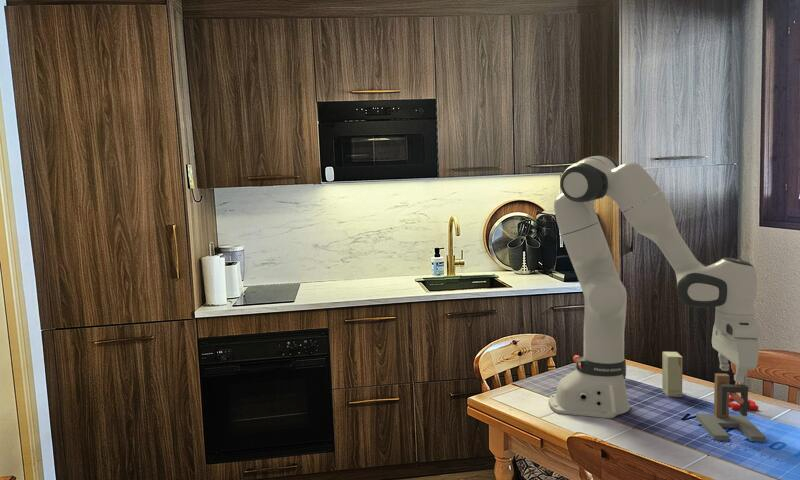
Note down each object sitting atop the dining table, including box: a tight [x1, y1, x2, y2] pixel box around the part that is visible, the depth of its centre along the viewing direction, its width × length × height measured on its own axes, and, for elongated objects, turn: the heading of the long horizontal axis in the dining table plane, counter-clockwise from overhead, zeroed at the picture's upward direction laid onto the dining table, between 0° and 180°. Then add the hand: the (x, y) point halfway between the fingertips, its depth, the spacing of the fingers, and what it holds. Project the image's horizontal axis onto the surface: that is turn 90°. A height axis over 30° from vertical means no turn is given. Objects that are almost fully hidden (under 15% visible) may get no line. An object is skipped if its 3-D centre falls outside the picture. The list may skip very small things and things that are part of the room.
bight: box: [719, 383, 749, 417], centre depth 155 cm, size 6×2×8 cm, turn 81°
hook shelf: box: [695, 372, 767, 442], centre depth 157 cm, size 12×14×13 cm
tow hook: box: [729, 371, 759, 411], centre depth 174 cm, size 8×13×9 cm
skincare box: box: [661, 351, 683, 398], centre depth 184 cm, size 6×4×12 cm
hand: (731, 376), depth 155 cm, fingers open, 8 cm apart
